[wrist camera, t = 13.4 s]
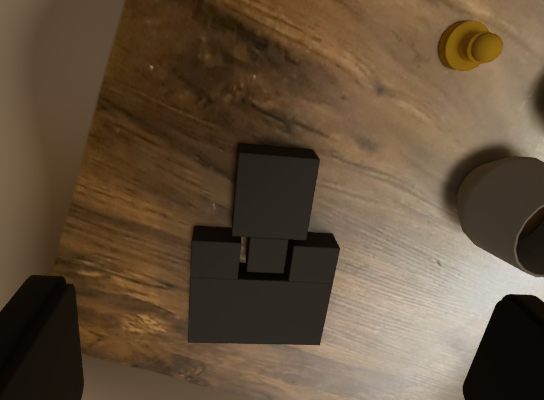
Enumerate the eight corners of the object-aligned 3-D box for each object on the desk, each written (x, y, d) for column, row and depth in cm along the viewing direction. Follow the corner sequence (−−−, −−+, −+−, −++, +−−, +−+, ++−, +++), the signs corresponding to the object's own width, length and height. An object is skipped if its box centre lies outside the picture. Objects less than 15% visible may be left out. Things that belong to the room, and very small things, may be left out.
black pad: (228, 254, 40) (228, 271, 38) (238, 143, 36) (238, 152, 33) (296, 258, 41) (300, 274, 39) (313, 149, 37) (320, 159, 34)
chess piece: (481, 64, 35) (519, 69, 31) (438, 74, 35) (470, 81, 30) (482, 16, 33) (522, 14, 29) (437, 27, 33) (469, 26, 29)
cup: (430, 169, 39) (492, 213, 30) (522, 129, 38) (614, 161, 29) (452, 244, 43) (513, 303, 33) (536, 208, 42) (621, 259, 33)
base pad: (190, 322, 43) (187, 342, 41) (194, 225, 39) (191, 240, 36) (314, 326, 45) (320, 345, 42) (332, 233, 41) (340, 248, 38)
